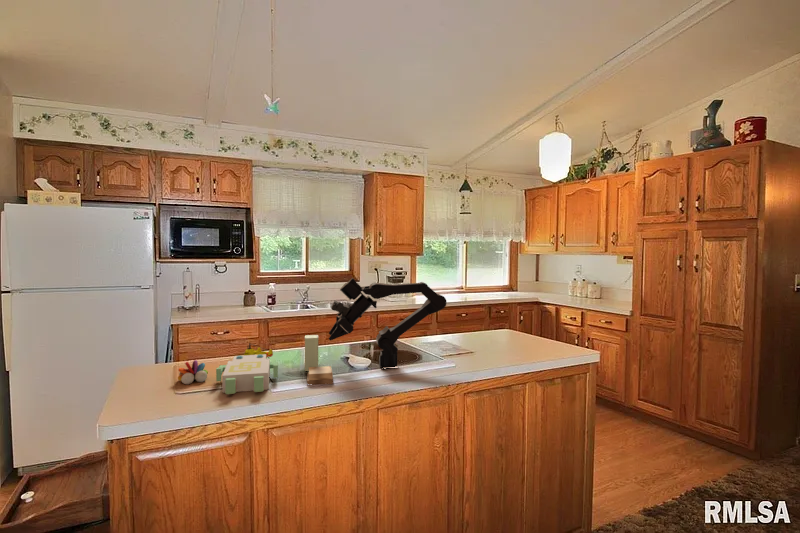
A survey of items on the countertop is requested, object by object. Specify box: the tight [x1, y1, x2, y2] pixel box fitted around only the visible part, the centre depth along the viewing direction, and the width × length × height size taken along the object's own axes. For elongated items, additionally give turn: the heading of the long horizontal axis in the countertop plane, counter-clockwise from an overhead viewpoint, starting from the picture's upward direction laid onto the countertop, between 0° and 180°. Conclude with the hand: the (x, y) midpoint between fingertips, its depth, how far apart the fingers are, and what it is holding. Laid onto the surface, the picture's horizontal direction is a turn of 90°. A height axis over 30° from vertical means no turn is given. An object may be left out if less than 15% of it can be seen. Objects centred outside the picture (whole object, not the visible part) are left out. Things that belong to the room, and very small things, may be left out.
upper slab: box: [308, 365, 333, 380], centre depth 155 cm, size 8×8×2 cm
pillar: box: [304, 334, 319, 372], centre depth 166 cm, size 5×5×13 cm
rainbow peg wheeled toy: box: [177, 359, 209, 385], centre depth 153 cm, size 8×10×7 cm
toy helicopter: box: [242, 342, 274, 359], centre depth 168 cm, size 6×18×10 cm, turn 155°
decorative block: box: [215, 354, 279, 395], centre depth 151 cm, size 26×6×20 cm
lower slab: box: [306, 372, 334, 386], centre depth 155 cm, size 9×9×2 cm
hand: (329, 336), depth 167 cm, fingers open, 9 cm apart
